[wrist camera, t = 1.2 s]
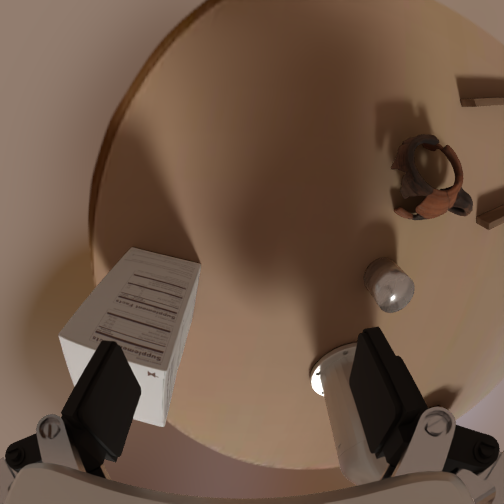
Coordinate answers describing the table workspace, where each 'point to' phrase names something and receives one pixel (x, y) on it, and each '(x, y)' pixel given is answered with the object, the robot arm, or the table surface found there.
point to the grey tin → (388, 285)
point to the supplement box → (138, 324)
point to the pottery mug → (416, 186)
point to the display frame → (500, 213)
